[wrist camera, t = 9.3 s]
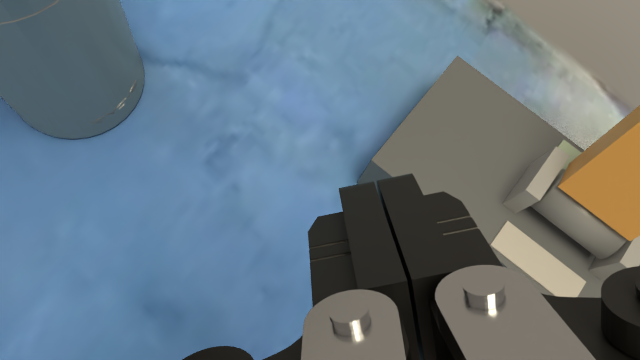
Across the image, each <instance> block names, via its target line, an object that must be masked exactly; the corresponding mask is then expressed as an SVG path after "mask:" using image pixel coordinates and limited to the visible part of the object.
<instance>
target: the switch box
mask: <svg viewBox="0 0 640 360" xmlns="http://www.w3.org/2000/svg"><path fill="white" fill-rule="evenodd" d="M582 152H584V150H583V149H581V148H580V147H579V146H577V145H576V144H575V143H573V142H572V141H571V140H569V139H568V138H567V137H565V136H564V135H563V134H561V133H560V132H559V131H557V130H556V129H555V128H553V127H552V126H551V125H549V124H548V123H547V122H545V121H544V120H543V119H541V118H540V117H539V116H537V115H536V114H535V113H533V112H532V111H531V110H529V109H528V108H527V107H525V106H524V105H523V104H521V103H520V102H519V101H517V100H516V99H515V98H513V97H512V96H511V95H509V94H508V93H507V92H505V91H504V90H503V89H501V88H500V87H499V86H497V85H496V84H495V83H493V82H492V81H491V80H489V79H488V78H487V77H485V76H484V75H483V74H481V73H480V72H479V71H477V70H476V69H475V68H473V67H472V66H471V65H469V64H468V63H467V62H465V61H464V60H463V59H461V58H460V57H459V56H457V57H456V58H455V59H454V60H453V62H452V63H451V64H450V65H449V66H448V68H447V69H446V70H445V71H444V72H443V74H442V75H441V76H440V77H439V79H438V80H437V81H436V82H435V83H434V85H433V86H432V87H431V88H430V89H429V91H428V92H427V93H426V94H425V95H424V97H423V98H422V99H421V100H420V102H419V103H418V104H417V105H416V106H415V108H414V109H413V110H412V111H411V112H410V114H409V115H408V116H407V117H406V118H405V120H404V121H403V122H402V123H401V124H400V126H399V127H398V128H397V129H396V131H395V132H394V133H393V134H392V135H391V137H390V138H389V139H388V140H387V141H386V143H385V144H384V145H383V146H382V147H381V149H380V150H379V151H378V152H377V153H376V155H375V156H374V157H373V158H372V160H371V161H370V163H369V164H368V166H367V168H366V169H365V171H364V172H363V174H362V176H361V177H360V179H359V181H358V182H357V183H358V184H362V183H367V182H372V181H374V183H375V186H376V189H377V180H381V179H386V178H391V177H396V176H401V175H406V174H411V173H412V174H413V175H414V177H415V179H416V181H417V183H418V185H419V187H420V189H421V191H422V193H423V195H428V194H433V193H438V192H442V191H444V192H446V193H448V194H450V195H452V196H453V197H455V198H457V199H459V200H461V201H462V202H463V204H464V206H465V207H466V209H467V210H468V212H469V213H470V216H471V217H472V218H473V220H474V221H475V223H476V225H477V227H478V229H480V231H481V233H482V234H483V236H484V237H485V239H486V240H487V242H488V244H489V245H490V247H491V248H492V250H493V252H494V253H495V255H496V256H497V258H498V259H499V261H500V263H501V264H502V266H503V267H506V268H509V269H512V270H515V271H517V272H519V273H521V274H522V275H524V276H525V277H527V278H528V279H529V280H530V281H531V282H532V284H533V285H534V286H535V287H536V288H537V290H538V291H539V292H540V293H542V294H546V295H551V296H559V297H591V298H601V287H602V284H603V282H604V281H605V280H606V279H607V278H608V277H609V276H610V275H611V274H613V273H615V272H617V271H620V270H622V269H625V268H630V267H635V266H640V236H638V237H636V238H635V239H633V240H631V241H629V240H627V241H626V242H625V243H624V244H623V245H622V246H621V247H620V248H619V249H618V250H617V251H616V252H615V253H613V254H612V255H610V256H609V257H607V258H604V259H598V258H597V257H596V256H594V255H593V254H592V253H590V252H589V251H588V250H587V249H585V248H584V247H583V246H581V245H580V244H579V243H577V242H576V241H575V240H574V239H572V238H571V237H570V236H568V235H567V234H566V233H564V232H563V231H562V230H561V229H559V228H558V227H557V226H555V225H554V224H553V223H552V222H550V221H549V220H548V219H546V218H545V217H544V216H542V215H541V214H540V213H539V212H537V211H536V210H535V209H533V208H532V207H531V205H533V204H534V203H536V202H538V201H540V200H541V198H542V197H543V195H544V194H545V192H546V191H547V189H548V188H549V186H550V185H551V183H552V182H553V180H554V179H555V178H556V176H557V175H558V173H559V172H560V170H561V169H565V170H566V169H567V167H568V165H569V163H570V162H572V161H573V160H574V159H575V158H576V157H578V156H579V155H580V154H581V153H582ZM377 192H378V190H377Z"/></svg>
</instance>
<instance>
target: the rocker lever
mask: <svg viewBox="0 0 640 360" xmlns="http://www.w3.org/2000/svg"><path fill="white" fill-rule="evenodd" d="M531 207H532V208H533V209H535V210H536V211H537V212H539V213H540V214H541V215H542V216H544V217H545V218H546V219H548V220H549V221H550V222H552V223H553V224H554V225H555V226H557V227H558V228H559V229H561V230H562V231H563V232H564V233H566V234H567V235H568V236H570V237H571V238H572V239H574V240H575V241H576V242H577V243H579V244H580V245H581V246H583V247H584V248H585V249H587V250H588V251H589V252H590V253H592V254H593V255H594V256H596V257H597V258H598V259H604V258H607V257H609V256H610V255H612V254H613V253H615V252H616V251H617V250H618V249H619V248H620V247H621V246H622V245H623V244H624V243H625V242H626V241H627V240H629V241H631V240H633V239H635V238H636V237H638V236H640V106H638V107H637V108H636V109H635V110H633V111H632V112H631V113H630V114H629V115H627V116H626V117H625V118H624V119H623V120H621V121H620V122H619V123H618V124H616V125H615V126H614V127H613V128H612V129H610V130H609V131H608V132H607V133H606V134H604V135H603V136H602V137H601V138H599V139H598V140H597V141H596V142H595V143H593V144H592V145H591V146H590V147H589V148H587V149H586V150H585V151H584V152H582V153H581V154H580V155H579V156H578V157H576V158H575V159H574V160H573V161H572V162H570V163H569V165H568V167H567V169H566V170H565V169H561V170H560V172H559V173H558V175H557V176H556V178H555V179H554V180H553V182H552V183H551V185H550V186H549V188H548V189H547V191H546V192H545V194H544V195H543V197H542V198H541V200H540V201H538V202H536V203H534V204H533V205H531Z"/></svg>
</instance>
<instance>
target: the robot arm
mask: <svg viewBox="0 0 640 360" xmlns="http://www.w3.org/2000/svg"><path fill="white" fill-rule="evenodd" d="M143 86H144V69H143V64H142V60H141V57H140V54H139V52H138V49H137V46H136V44H135V41H134V38H133V35H132V32H131V29H130V27H129V24H128V21H127V19H126V16H125V13H124V11H123V8H122V5H121V2H120V0H0V96H1V97H2V98H3V99H4V100H5V101H6V102H7V103H8V104H9V105H10V106H11V107H12V109H13V110H14V111H15V112H16V113H17V114H18V115H19V116H20V117H21V118H22V119H23V120H24V121H26V122H27V123H28V124H29V125H30V126H31V127H33V128H35V129H36V130H38V131H40V132H42V133H44V134H47V135H50V136H54V137H57V138H66V139H79V138H88V137H91V136H95V135H98V134H101V133H104V132H106V131H107V130H109V129H111V128H113V127H115V126H116V125H118V124H119V123H120V122H121V121H123V120H124V119H125V118H126V117H127V116H128V115H129V114H130V113H131V111H132V110H133V109H134V108H135V106H136V104H137V102H138V100H139V99H140V97H141V93H142V90H143ZM377 190H378V192H377ZM339 193H340V198H341V203H342V208H343V212H339V213H334V214H329V215H324V216H319V217H317V219H316V220H315V222H314V223H313V225H312V226H311V228H310V230H309V231H308V238H309V249H310V250H309V254H310V270H311V285H312V301H313V308H312V309H311V310H310V312H309V313H308V314H307V316H306V318H305V321H304V326H303V335H302V336H301V337H300V338H299V339H298V340H297V341H296V342H295V343H293V344H292V345H291V346H289V347H288V348H286V349H284V350H282V351H281V352H279V353H277V354H274V355H272V356H270V357H268V358H265V359H263V360H640V266H635V267H630V268H625V269H622V270H620V271H617V272H615V273H613V274H611V275H610V276H609V277H608V278H607V279H606V280H605V281H604V282H603V284H602V287H601V298H591V297H559V296H551V295H546V294H542V293H540V292H539V291H538V290H537V288H536V287H535V286H534V285H533V284H532V282H531V281H530V280H529V279H528V278H527V277H525V276H524V275H522V274H521V273H519V272H517V271H515V270H512V269H509V268H506V267H503V266H502V264H501V263H500V261H499V259H498V258H497V256H496V255H495V253H494V252H493V250H492V248H491V247H490V245H489V244H488V242H487V240H486V239H485V237H484V236H483V234H482V233H481V231H480V229H478V227H477V225H476V223H475V221H474V220H473V218H472V217H471V216H470V213H469V212H468V210H467V209H466V207H465V206H464V204H463V202H462V201H461V200H459V199H457V198H455V197H453V196H452V195H450V194H448V193H446V192H444V191H442V192H438V193H433V194H428V195H423V193H422V191H421V189H420V187H419V185H418V183H417V181H416V179H415V177H414V175H413V174H412V173H411V174H406V175H401V176H396V177H391V178H386V179H381V180H377V189H376V186H375V183H374V181H372V182H367V183H362V184H357V185H352V186H347V187H342V188H339ZM183 360H254V359H253V358H252V357H251V355H250V354H248V353H247V352H246V351H244V350H242V349H240V348H236V347H231V346H218V347H211V348H207V349H204V350H201V351H198V352H196V353H193V354H192V355H190V356H188V357H186V358H184V359H183Z"/></svg>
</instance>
